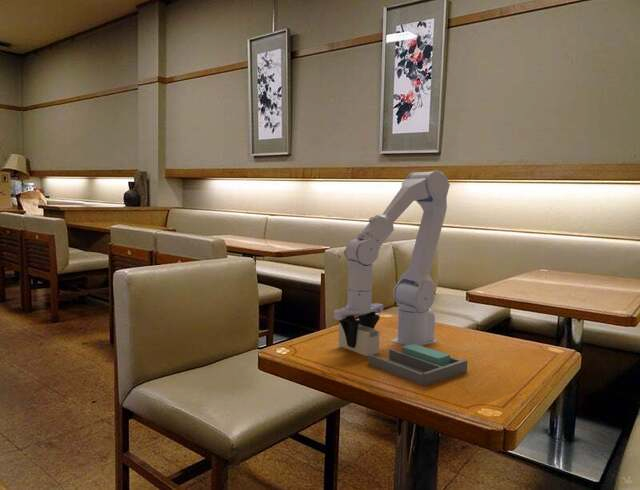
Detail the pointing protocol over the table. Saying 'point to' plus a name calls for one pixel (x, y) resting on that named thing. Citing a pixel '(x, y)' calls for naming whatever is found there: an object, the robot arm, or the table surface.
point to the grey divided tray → (418, 367)
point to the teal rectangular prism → (427, 354)
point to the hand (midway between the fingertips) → (358, 344)
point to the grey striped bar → (362, 340)
